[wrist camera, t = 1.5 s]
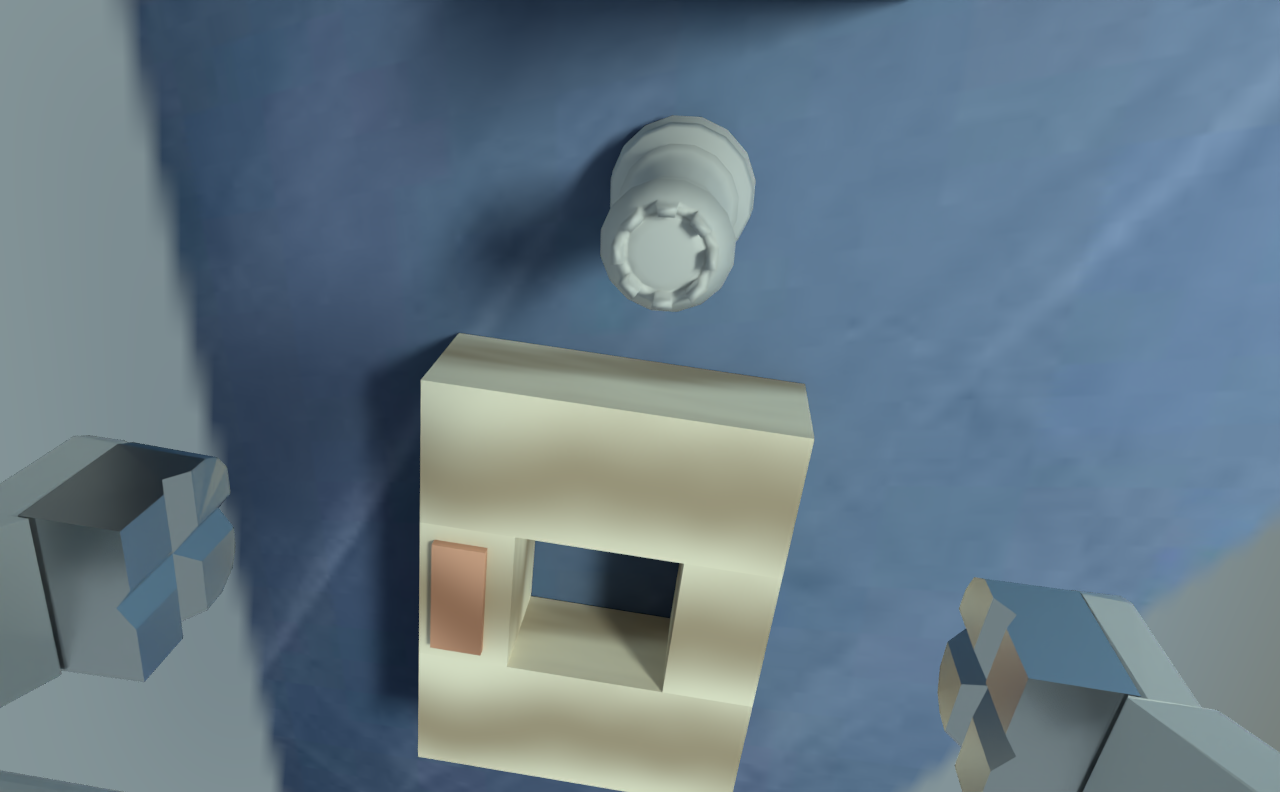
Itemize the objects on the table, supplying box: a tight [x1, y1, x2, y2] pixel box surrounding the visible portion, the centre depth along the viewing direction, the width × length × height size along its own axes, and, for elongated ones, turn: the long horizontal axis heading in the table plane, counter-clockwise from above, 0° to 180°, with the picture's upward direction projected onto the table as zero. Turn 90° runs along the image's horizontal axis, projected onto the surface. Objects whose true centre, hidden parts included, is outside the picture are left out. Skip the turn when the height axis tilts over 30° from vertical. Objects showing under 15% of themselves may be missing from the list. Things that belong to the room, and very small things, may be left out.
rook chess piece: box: [600, 116, 755, 312], centre depth 24 cm, size 4×4×8 cm
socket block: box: [418, 333, 814, 792], centre depth 31 cm, size 16×12×4 cm
